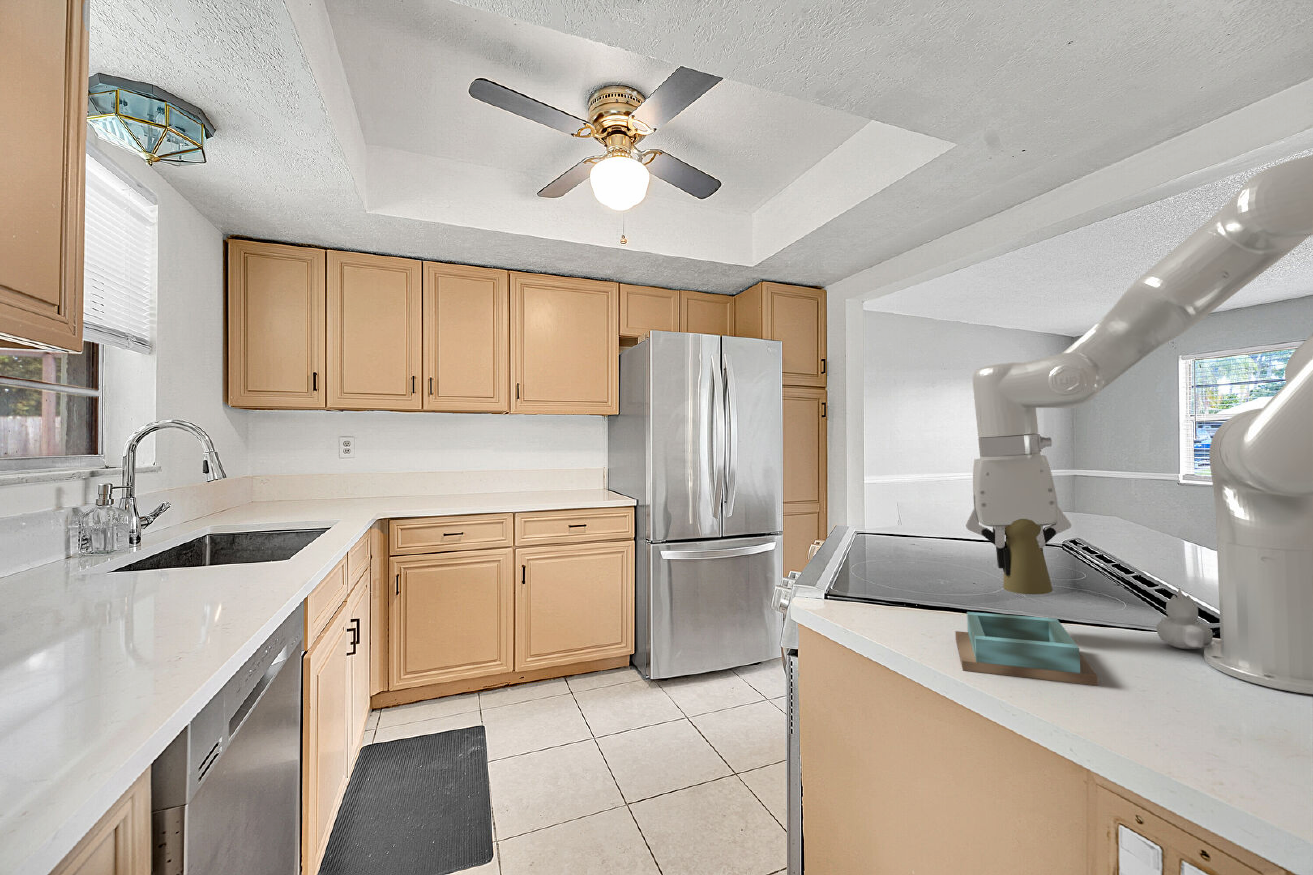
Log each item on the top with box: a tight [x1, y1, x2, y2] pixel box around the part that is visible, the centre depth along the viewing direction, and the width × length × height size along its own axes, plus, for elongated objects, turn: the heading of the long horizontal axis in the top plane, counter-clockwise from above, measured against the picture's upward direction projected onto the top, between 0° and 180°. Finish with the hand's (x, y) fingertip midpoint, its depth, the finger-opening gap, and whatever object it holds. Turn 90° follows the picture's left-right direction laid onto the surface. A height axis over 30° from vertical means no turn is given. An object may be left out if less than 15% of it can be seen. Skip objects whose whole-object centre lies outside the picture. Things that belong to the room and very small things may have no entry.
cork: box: [1002, 519, 1054, 595], centre depth 81 cm, size 6×6×11 cm
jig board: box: [954, 611, 1098, 686], centre depth 74 cm, size 14×11×4 cm
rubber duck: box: [1156, 587, 1214, 650], centre depth 74 cm, size 5×7×8 cm
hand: (1021, 572), depth 82 cm, fingers closed on cork, 2 cm apart
